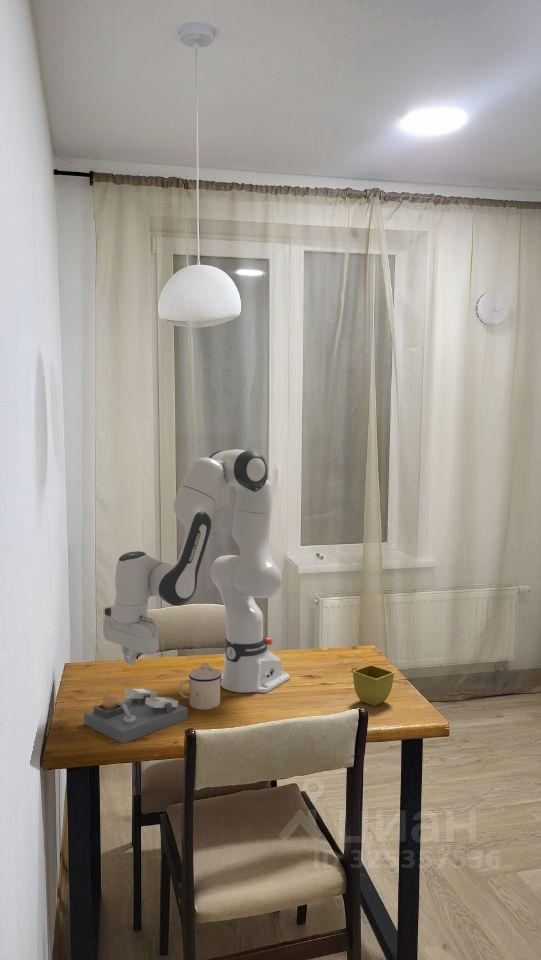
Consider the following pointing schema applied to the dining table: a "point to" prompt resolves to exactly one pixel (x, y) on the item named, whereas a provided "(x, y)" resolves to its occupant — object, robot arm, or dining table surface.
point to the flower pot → (372, 684)
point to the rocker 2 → (160, 702)
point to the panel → (133, 718)
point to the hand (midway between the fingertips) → (129, 663)
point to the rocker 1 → (139, 693)
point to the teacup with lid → (203, 687)
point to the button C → (109, 701)
